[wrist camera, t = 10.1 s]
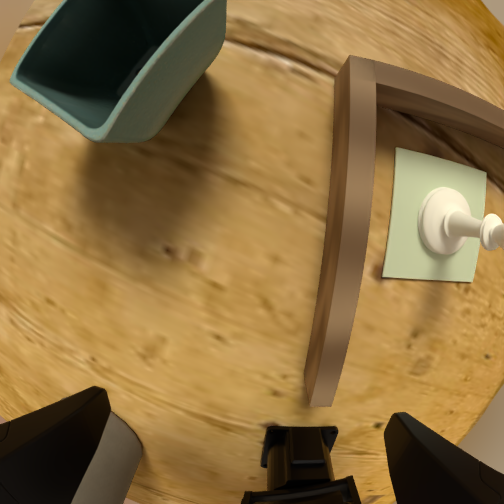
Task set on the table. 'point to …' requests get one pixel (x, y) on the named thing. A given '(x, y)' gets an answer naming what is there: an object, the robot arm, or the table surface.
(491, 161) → the table surface
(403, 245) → the pad
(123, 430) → the canister
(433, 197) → the chess piece
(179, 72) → the flower pot
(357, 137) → the corner wall
